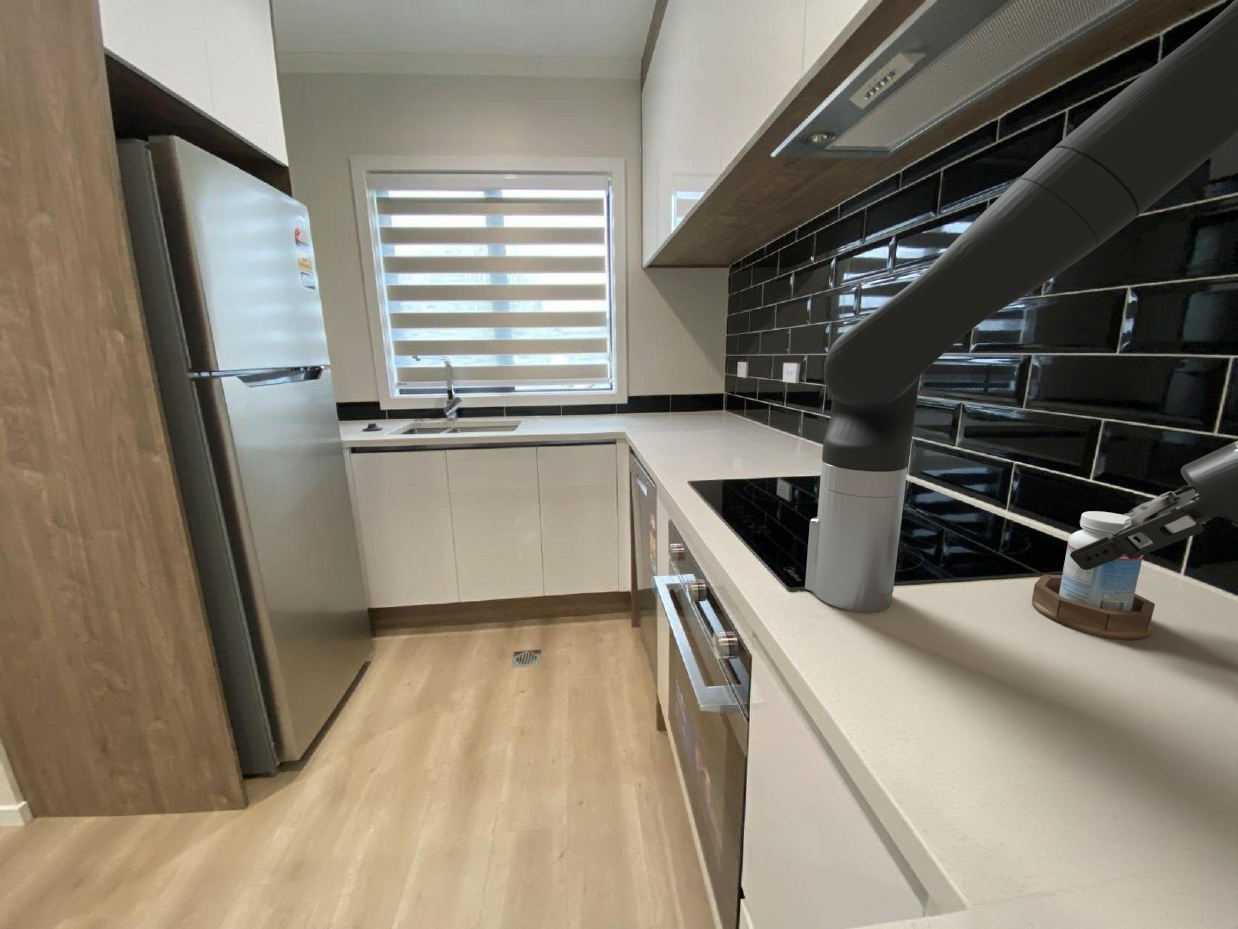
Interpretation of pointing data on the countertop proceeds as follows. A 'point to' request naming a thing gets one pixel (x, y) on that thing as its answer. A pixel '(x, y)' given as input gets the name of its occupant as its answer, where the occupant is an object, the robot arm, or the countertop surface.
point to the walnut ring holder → (1092, 613)
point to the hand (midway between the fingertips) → (1084, 552)
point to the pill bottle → (1100, 567)
